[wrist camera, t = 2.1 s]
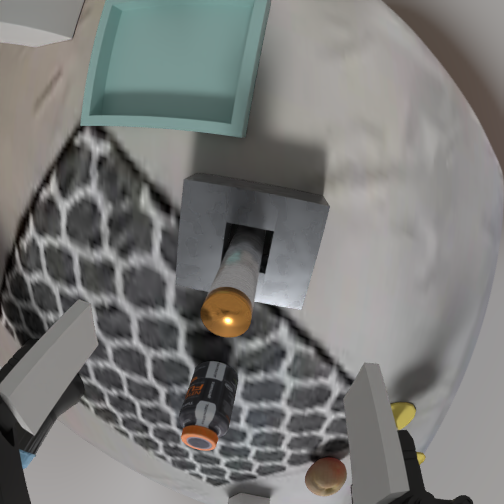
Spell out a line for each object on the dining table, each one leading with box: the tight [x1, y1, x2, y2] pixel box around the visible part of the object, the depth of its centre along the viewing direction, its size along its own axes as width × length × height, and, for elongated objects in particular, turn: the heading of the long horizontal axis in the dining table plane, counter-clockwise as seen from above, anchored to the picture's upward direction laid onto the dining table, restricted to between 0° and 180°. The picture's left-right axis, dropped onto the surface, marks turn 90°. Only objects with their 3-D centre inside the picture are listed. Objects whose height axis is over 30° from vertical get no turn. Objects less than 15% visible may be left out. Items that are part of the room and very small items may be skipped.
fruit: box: [305, 457, 347, 496], centre depth 42 cm, size 8×8×8 cm
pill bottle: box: [179, 361, 238, 450], centre depth 32 cm, size 6×6×11 cm
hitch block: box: [176, 173, 330, 310], centre depth 27 cm, size 12×10×4 cm
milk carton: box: [0, 0, 84, 47], centre depth 11 cm, size 7×7×19 cm
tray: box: [80, 0, 271, 138], centre depth 21 cm, size 16×14×3 cm
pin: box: [201, 225, 265, 337], centre depth 22 cm, size 3×3×14 cm
